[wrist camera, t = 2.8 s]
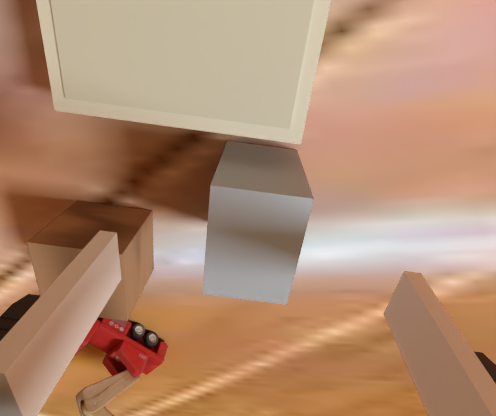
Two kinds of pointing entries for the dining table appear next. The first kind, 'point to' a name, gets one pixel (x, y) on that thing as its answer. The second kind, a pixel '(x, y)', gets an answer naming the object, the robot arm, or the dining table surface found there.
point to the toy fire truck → (119, 361)
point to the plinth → (187, 62)
